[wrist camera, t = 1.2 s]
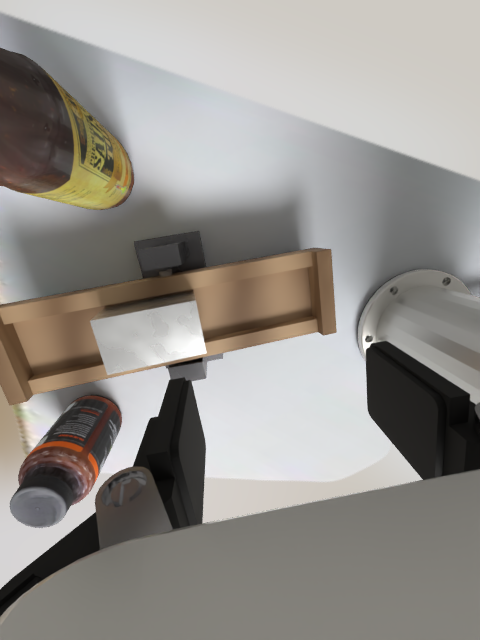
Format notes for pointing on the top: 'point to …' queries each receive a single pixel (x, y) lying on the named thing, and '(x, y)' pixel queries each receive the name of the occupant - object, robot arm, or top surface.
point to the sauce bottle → (56, 142)
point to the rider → (148, 332)
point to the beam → (208, 284)
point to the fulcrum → (178, 257)
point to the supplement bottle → (66, 462)
